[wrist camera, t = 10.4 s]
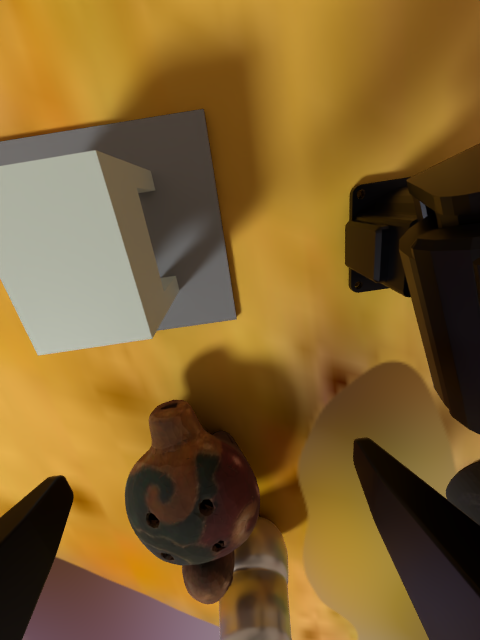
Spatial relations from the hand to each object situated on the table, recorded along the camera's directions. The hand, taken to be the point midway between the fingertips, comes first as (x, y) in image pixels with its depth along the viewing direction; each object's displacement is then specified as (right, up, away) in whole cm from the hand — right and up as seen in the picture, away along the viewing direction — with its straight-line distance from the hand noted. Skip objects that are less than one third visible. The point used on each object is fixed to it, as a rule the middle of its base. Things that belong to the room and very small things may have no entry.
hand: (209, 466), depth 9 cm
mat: (-6, +9, +9) cm, 14 cm away
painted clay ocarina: (-3, -7, +16) cm, 18 cm away
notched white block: (-6, +9, +8) cm, 14 cm away
